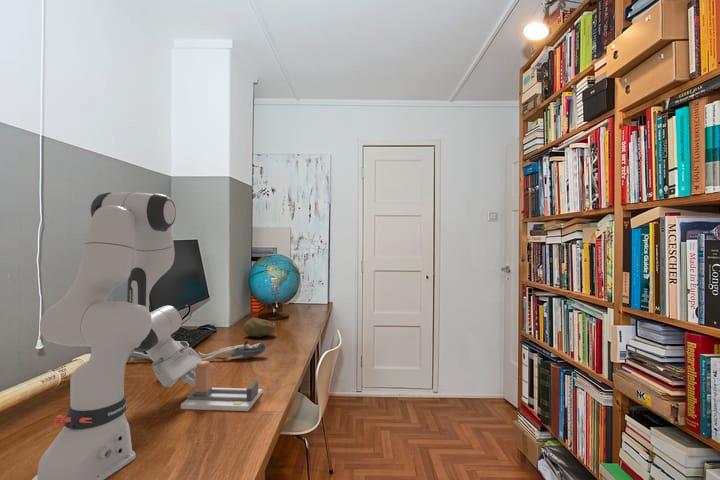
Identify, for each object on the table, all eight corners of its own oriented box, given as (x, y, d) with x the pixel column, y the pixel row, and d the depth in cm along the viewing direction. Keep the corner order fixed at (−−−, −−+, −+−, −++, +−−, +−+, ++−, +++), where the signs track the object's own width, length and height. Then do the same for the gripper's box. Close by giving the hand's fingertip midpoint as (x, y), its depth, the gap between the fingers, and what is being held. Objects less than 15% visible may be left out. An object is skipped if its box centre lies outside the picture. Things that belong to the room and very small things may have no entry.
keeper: (205, 398, 129) (205, 365, 129) (194, 397, 129) (194, 364, 129) (211, 392, 134) (211, 360, 133) (200, 392, 134) (200, 360, 134)
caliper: (125, 363, 170) (125, 349, 170) (126, 362, 171) (126, 348, 171) (173, 362, 171) (173, 348, 171) (174, 361, 172) (174, 347, 172)
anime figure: (199, 346, 179) (265, 336, 182) (201, 362, 179) (267, 351, 183) (192, 353, 170) (262, 341, 173) (194, 369, 170) (264, 358, 173)
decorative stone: (277, 334, 218) (277, 316, 218) (270, 340, 207) (270, 321, 207) (248, 333, 220) (248, 316, 220) (239, 339, 209) (239, 320, 209)
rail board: (248, 411, 123) (248, 393, 123) (180, 408, 125) (180, 391, 125) (262, 393, 137) (262, 377, 137) (201, 391, 139) (201, 376, 139)
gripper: (156, 357, 122) (186, 389, 121) (189, 340, 142) (215, 367, 141) (142, 371, 122) (172, 403, 121) (177, 352, 142) (203, 379, 142)
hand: (195, 384), depth 132 cm, fingers closed
